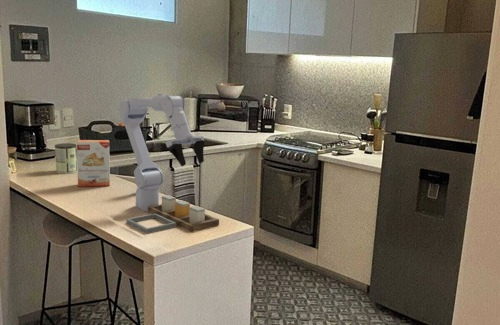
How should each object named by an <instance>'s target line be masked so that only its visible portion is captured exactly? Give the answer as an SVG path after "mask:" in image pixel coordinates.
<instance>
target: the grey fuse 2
mask: <svg viewBox="0 0 500 325" xmlns="http://www.w3.org/2000/svg"><path fill="white" fill-rule="evenodd" d="M205 214H206V209H205V208H203V207H201V206H198V205H194V206H193V205H191V206H190V207H189V223H190V224H194V223H198V222H203V221H205Z"/></svg>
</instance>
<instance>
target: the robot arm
mask: <svg viewBox="0 0 500 325" xmlns="http://www.w3.org/2000/svg"><path fill="white" fill-rule="evenodd" d="M185 105H186V104H185V100H184V98H183V97H182V96H181V95H171V94H165V95H164V93H157V94H156V95H153V96H152V97H131V98H130V97H129V98H126V99H125V98H123V99H122V100H120V103H119V105H118V113H119V115H120V118H121V122H122V124H124V127H125V130H126V133H127V136H128V139H129V142H130V145H131V148H132V151H133V154H134V156H135V160H136V163H137V166H136V168H135V169H134V171H133V175H134V183H135V185H136V187H137V189H136V190H135V207H136V208H138V209H140V210H141V211H145V212H148V207H149V206H155V205H160V188H161V185H163V183H164V178H165V176H164V174H163V172H162V170H161V169H160V166H159V165H158V164H157V163H155V162H153V161H152V158H151V157H150V153H149V149H148V147H147V145H146V144H147V143H146V141H145V139H144V135H143V133H142V130H141V126H140V124H141V123H143V122H144V120H145V118H146V116H147V113H148V112H149V111H148V110H149V109H150V108H152V110H153V111H154V112H155V111H156V112H163V113H164V114H165V115H166V117H167V119H168V120H169V123H170V125H171V126H170V127H171V129H172V131H173V134H174V138H173V139H169V140H167V141H166V142H165V145H166V148H168V151H169V153H170V154H171V155H172V156H173V157H174V158H175V159H176V160H177V162H178V163H179V165H180V166H181V167H184V166H186V164H187V163H186V158H185V156H184V151H183V146H186V145H193V146H192V147H191V149H192V151H193V152H194V154H195V156H196V160H197V161H198V163H199V164H203V163H204V162H205V158H204V149H205V148H204V147H205V139H204V136H203V135H201V136H200V135H193V133H192V132H191V129H190V126H189V122H188V120H187V117H186V114H185V111H184V108H185Z"/></svg>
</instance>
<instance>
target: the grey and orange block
mask: <svg viewBox="0 0 500 325" xmlns="http://www.w3.org/2000/svg"><path fill="white" fill-rule="evenodd" d="M189 207H191V204H190V202H188V201H185V200H181V199H180V200H176V201H175V217H176V218H177V217H182V216H186V215H189Z"/></svg>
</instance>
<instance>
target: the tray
mask: <svg viewBox="0 0 500 325" xmlns="http://www.w3.org/2000/svg"><path fill="white" fill-rule="evenodd" d="M151 219H155V220H158V221H160V222H162V223H164V224H160V225H156V226H151V227H146V226H145V225H142V224H140V223H138V222H142V221H147V220H151ZM125 220H126V224H128V225H130V226H132V227H133V228H135V229H138V230H139V231H141V232H143V233H145V234H151V233H154V232H159V231H163V230H169V229H171V228H176V227H177V225H176V222H173V221H171V220H169V219H167V218H164V217H162V216H160V215H158V214H156V213H155V214H151V213H149V214H144V215H140V216H139V215H138V216H135V217H129V218H126V219H125Z"/></svg>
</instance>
